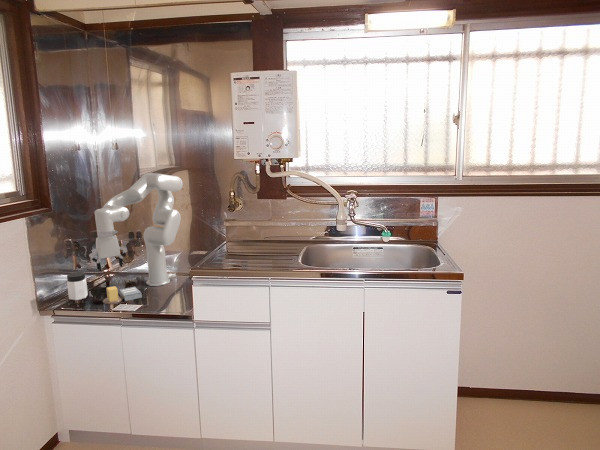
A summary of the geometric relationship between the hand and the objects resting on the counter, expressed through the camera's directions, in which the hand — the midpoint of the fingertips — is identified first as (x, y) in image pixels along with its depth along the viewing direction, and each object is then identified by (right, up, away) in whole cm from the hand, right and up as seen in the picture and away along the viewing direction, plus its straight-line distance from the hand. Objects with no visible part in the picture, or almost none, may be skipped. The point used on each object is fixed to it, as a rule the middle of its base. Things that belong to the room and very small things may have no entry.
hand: (110, 268), depth 217 cm
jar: (-20, -16, +9) cm, 27 cm away
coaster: (0, -16, +3) cm, 17 cm away
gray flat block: (+6, -15, +9) cm, 19 cm away
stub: (0, -16, +2) cm, 16 cm away
